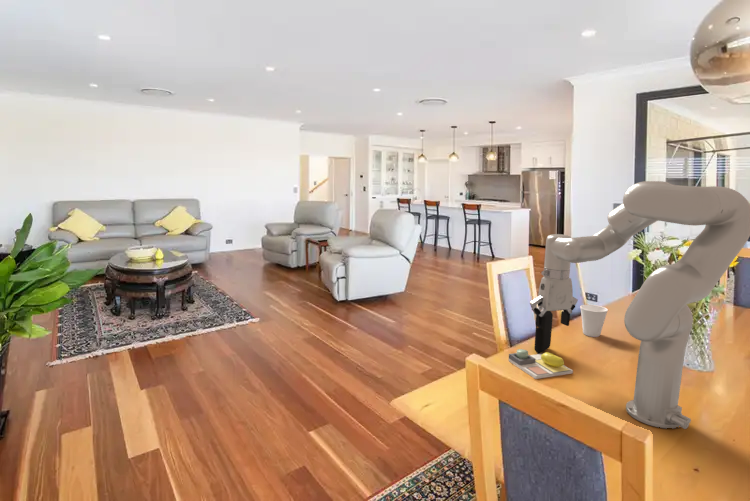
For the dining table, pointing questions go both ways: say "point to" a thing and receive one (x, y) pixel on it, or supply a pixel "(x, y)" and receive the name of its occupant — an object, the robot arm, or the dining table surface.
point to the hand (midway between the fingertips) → (552, 325)
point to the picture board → (538, 366)
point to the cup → (593, 319)
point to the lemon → (552, 359)
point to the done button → (522, 354)
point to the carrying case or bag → (544, 334)
